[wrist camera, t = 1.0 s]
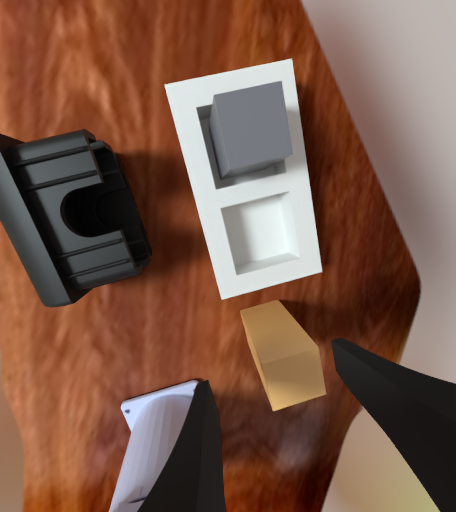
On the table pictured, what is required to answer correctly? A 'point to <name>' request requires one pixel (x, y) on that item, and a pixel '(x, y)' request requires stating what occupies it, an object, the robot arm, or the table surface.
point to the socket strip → (248, 174)
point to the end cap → (70, 215)
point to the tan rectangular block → (283, 355)
